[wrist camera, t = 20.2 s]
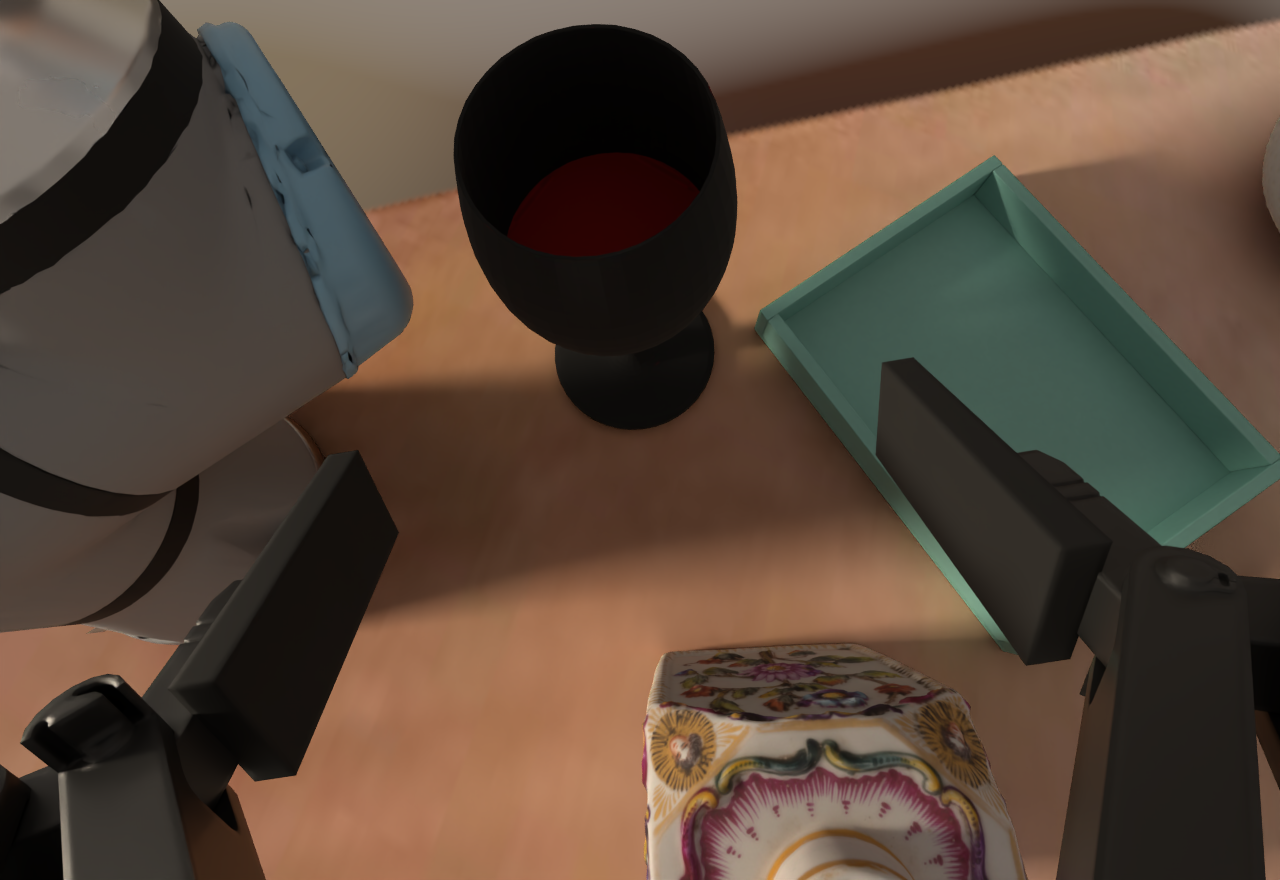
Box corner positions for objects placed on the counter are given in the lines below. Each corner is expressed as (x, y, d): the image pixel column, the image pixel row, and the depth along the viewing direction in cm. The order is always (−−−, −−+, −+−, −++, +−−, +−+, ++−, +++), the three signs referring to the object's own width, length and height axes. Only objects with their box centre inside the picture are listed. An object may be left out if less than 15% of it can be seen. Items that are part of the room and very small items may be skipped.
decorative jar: (861, 639, 34) (1051, 720, 17) (890, 868, 32) (1146, 1246, 14) (653, 649, 35) (623, 736, 17) (666, 873, 32) (646, 1240, 15)
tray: (753, 328, 38) (759, 310, 36) (972, 183, 39) (994, 154, 37) (1002, 651, 34) (1032, 659, 31) (1244, 476, 35) (1294, 468, 32)
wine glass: (623, 249, 40) (567, -48, 21) (747, 338, 38) (816, 103, 19) (522, 366, 39) (362, 168, 19) (646, 463, 37) (606, 352, 18)
